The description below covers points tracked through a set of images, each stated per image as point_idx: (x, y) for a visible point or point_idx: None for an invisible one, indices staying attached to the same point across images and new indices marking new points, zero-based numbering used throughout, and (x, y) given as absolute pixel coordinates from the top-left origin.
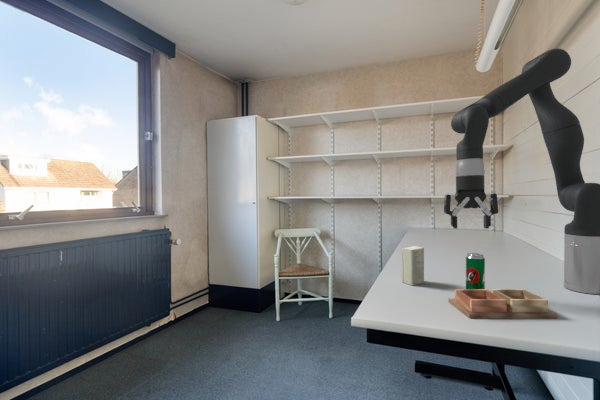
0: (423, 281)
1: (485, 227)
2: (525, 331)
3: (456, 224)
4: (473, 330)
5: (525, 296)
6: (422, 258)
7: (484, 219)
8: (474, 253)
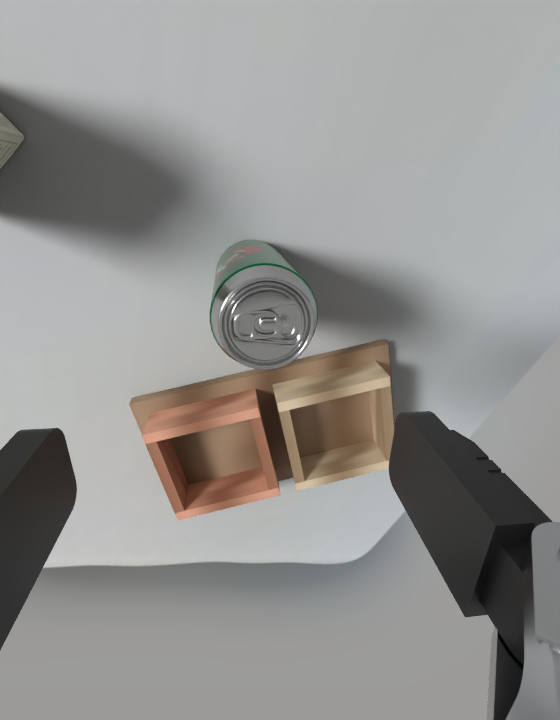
0: (18, 141)
1: (393, 464)
2: (279, 529)
3: (45, 538)
4: (169, 553)
5: (375, 393)
6: None
7: (447, 511)
8: (269, 302)
